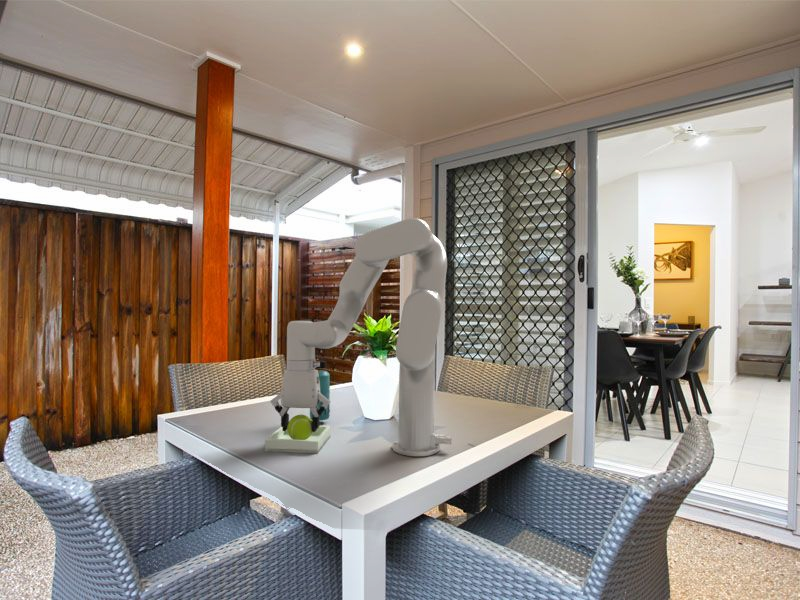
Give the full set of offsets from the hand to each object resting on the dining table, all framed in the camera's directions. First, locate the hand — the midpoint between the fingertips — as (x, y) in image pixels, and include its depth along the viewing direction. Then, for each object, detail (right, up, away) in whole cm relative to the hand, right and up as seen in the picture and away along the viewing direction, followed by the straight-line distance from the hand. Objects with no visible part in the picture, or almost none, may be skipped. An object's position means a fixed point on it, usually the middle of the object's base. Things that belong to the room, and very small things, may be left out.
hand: (300, 429), depth 118 cm
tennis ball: (0, -3, 0) cm, 3 cm away
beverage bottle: (+1, -4, +21) cm, 21 cm away
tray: (0, -4, 0) cm, 4 cm away
